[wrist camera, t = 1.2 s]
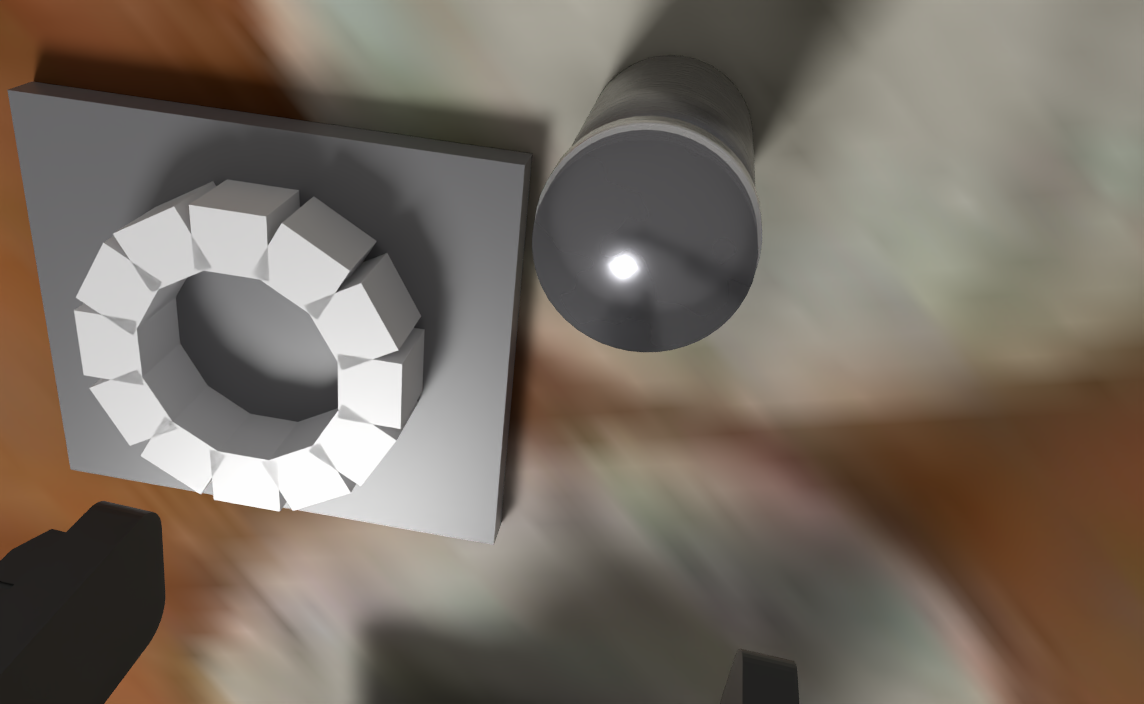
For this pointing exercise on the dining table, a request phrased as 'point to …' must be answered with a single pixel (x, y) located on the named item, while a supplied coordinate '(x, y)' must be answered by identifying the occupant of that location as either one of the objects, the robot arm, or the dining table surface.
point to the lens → (653, 210)
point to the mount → (278, 305)
